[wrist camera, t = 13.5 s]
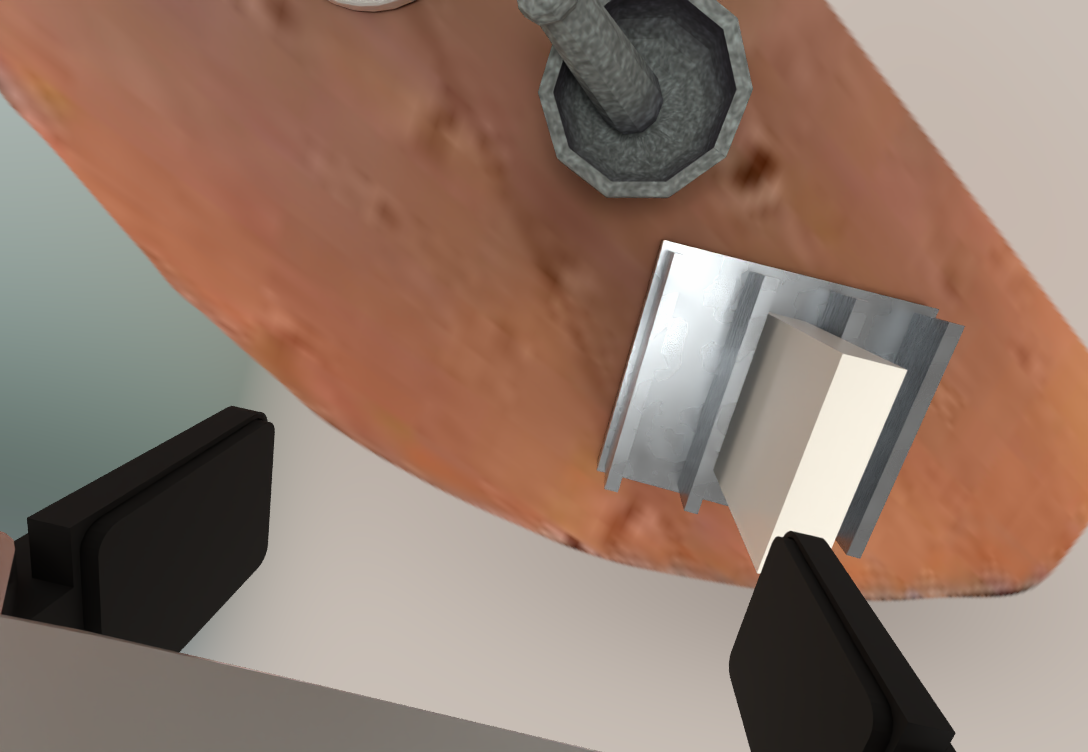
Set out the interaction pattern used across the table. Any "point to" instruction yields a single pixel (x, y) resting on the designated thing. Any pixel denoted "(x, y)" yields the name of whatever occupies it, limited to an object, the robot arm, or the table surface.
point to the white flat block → (802, 433)
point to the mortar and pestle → (641, 89)
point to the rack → (723, 362)
